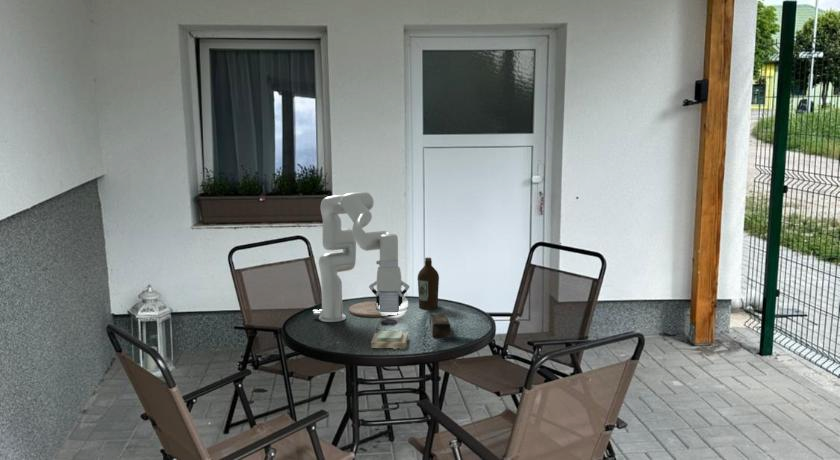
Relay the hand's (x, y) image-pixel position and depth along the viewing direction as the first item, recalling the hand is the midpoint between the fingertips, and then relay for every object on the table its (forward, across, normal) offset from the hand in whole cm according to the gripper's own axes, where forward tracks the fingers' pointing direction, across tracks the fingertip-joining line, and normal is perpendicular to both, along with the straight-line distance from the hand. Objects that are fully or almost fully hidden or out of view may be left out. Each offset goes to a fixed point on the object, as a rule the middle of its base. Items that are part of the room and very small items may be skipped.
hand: (389, 304), depth 305 cm
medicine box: (+3, 0, 0) cm, 3 cm away
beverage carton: (+17, +20, +19) cm, 33 cm away
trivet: (+17, -13, +53) cm, 57 cm away
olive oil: (+17, +13, +61) cm, 65 cm away
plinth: (+17, 0, 0) cm, 17 cm away
